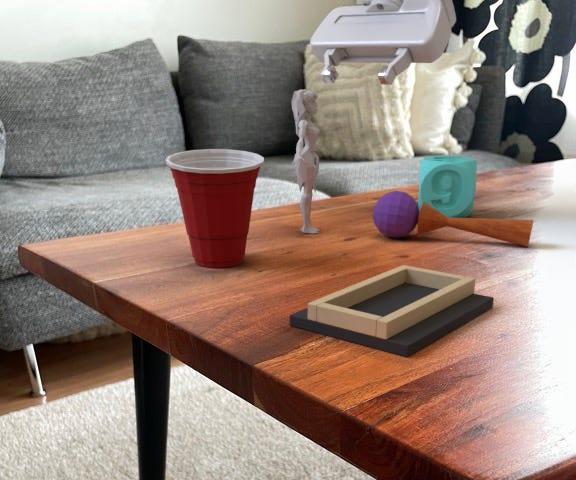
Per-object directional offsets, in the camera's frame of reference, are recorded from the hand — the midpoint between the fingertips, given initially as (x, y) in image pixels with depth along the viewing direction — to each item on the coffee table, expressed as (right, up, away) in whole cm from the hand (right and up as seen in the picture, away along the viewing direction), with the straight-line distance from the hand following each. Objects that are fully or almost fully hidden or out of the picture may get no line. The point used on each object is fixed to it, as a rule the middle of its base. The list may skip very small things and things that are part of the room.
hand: (354, 80), depth 98 cm
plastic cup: (-17, -28, -15) cm, 36 cm away
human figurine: (-7, -21, 0) cm, 22 cm away
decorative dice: (+15, -16, +11) cm, 24 cm away
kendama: (+12, -23, -5) cm, 27 cm away
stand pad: (+1, -35, -32) cm, 48 cm away
